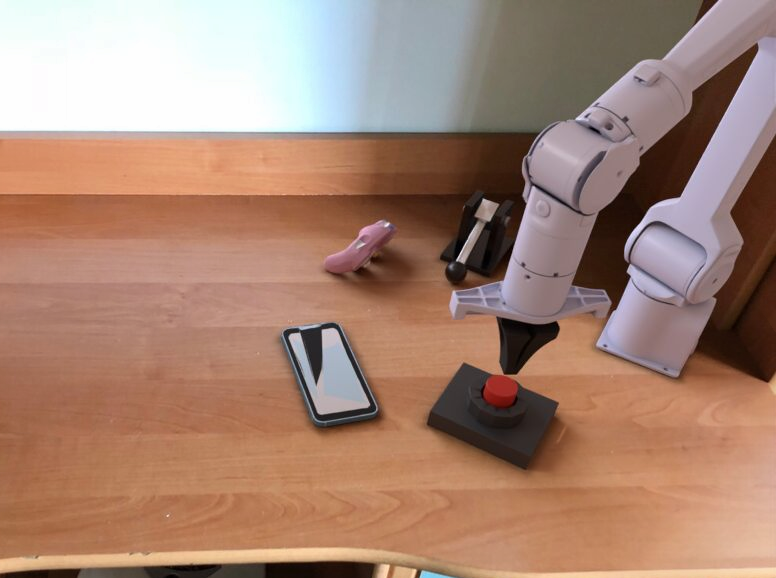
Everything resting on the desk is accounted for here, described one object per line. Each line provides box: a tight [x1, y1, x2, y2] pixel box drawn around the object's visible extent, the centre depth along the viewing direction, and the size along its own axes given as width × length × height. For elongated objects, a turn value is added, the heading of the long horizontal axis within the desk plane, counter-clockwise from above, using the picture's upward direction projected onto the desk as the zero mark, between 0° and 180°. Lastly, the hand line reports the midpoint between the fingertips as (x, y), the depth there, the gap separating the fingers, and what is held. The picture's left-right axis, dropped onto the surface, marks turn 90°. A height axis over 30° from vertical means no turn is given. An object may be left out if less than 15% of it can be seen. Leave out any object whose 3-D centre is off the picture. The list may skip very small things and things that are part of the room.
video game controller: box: [323, 219, 398, 274], centre depth 103 cm, size 10×5×7 cm, turn 143°
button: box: [483, 374, 518, 408], centre depth 82 cm, size 3×3×2 cm
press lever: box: [444, 198, 500, 284], centre depth 102 cm, size 12×3×3 cm, turn 148°
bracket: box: [439, 189, 516, 279], centre depth 104 cm, size 9×7×8 cm
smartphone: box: [280, 321, 379, 428], centre depth 89 cm, size 7×1×15 cm
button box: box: [426, 361, 560, 471], centre depth 84 cm, size 11×9×4 cm
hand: (508, 368), depth 80 cm, fingers closed
